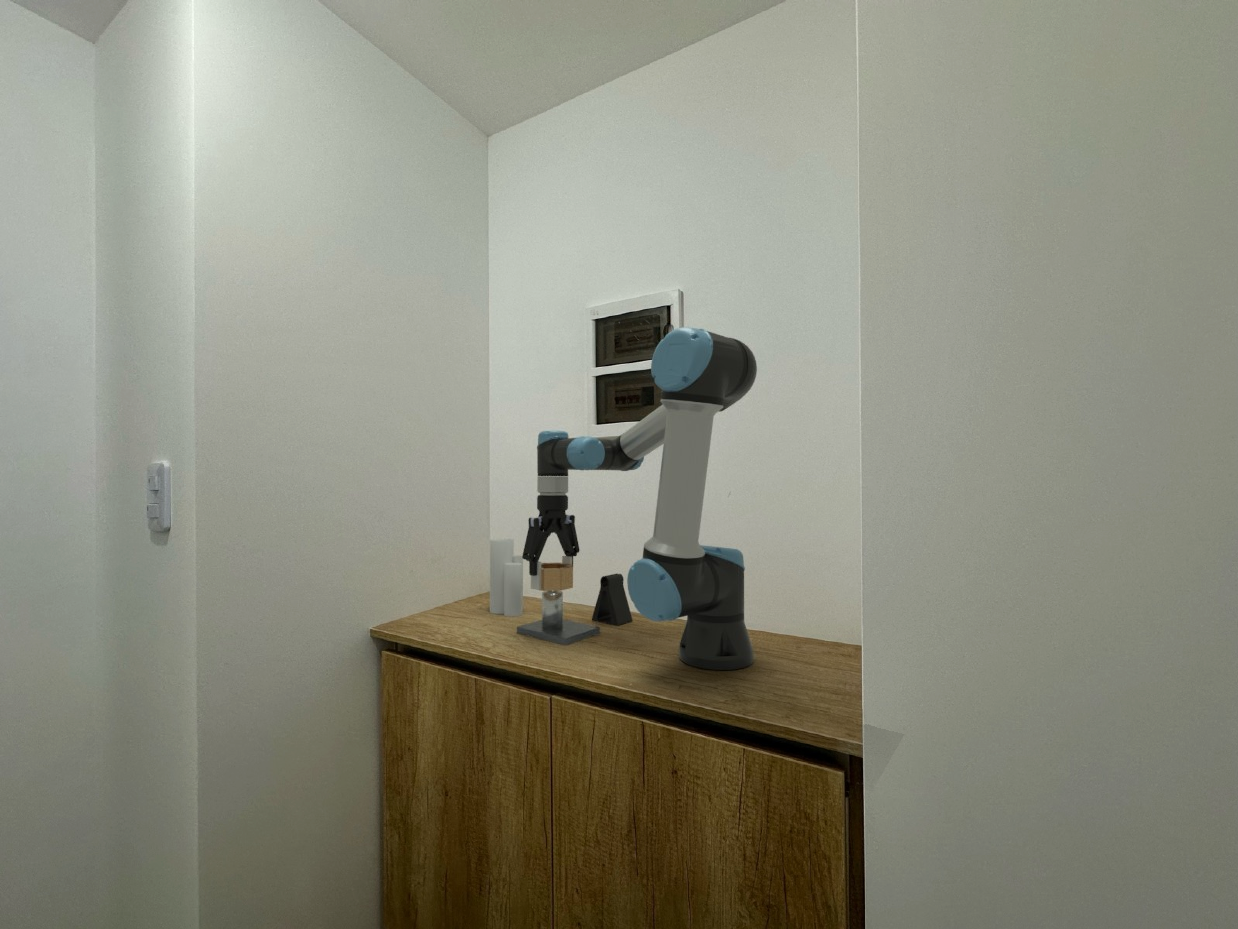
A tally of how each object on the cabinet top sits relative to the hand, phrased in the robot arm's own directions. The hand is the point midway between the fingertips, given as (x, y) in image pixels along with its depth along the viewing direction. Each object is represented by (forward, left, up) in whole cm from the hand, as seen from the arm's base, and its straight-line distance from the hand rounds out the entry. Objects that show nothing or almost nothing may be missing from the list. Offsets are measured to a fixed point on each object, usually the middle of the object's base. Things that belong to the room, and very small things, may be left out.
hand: (551, 585), depth 135 cm
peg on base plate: (-2, 0, -11) cm, 11 cm away
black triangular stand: (-5, -17, -11) cm, 21 cm away
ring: (0, 0, 0) cm, 0 cm away
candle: (+24, -7, -11) cm, 27 cm away
